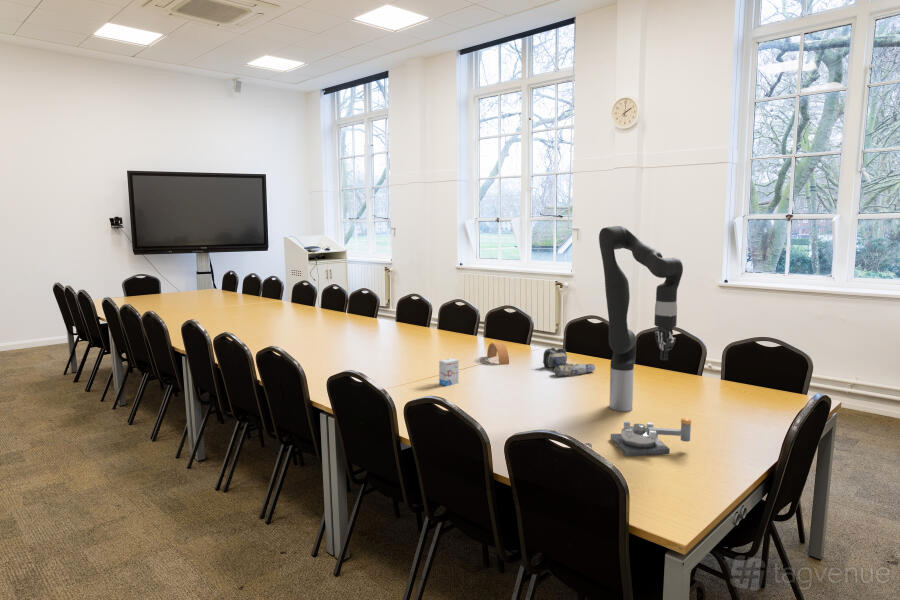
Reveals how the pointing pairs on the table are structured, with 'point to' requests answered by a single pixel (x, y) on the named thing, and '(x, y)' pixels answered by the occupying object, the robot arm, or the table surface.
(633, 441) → the orange knob lever
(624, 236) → the robot arm
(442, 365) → the ink box
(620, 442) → the base plate
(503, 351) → the arch
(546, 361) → the power drill
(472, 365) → the table surface
